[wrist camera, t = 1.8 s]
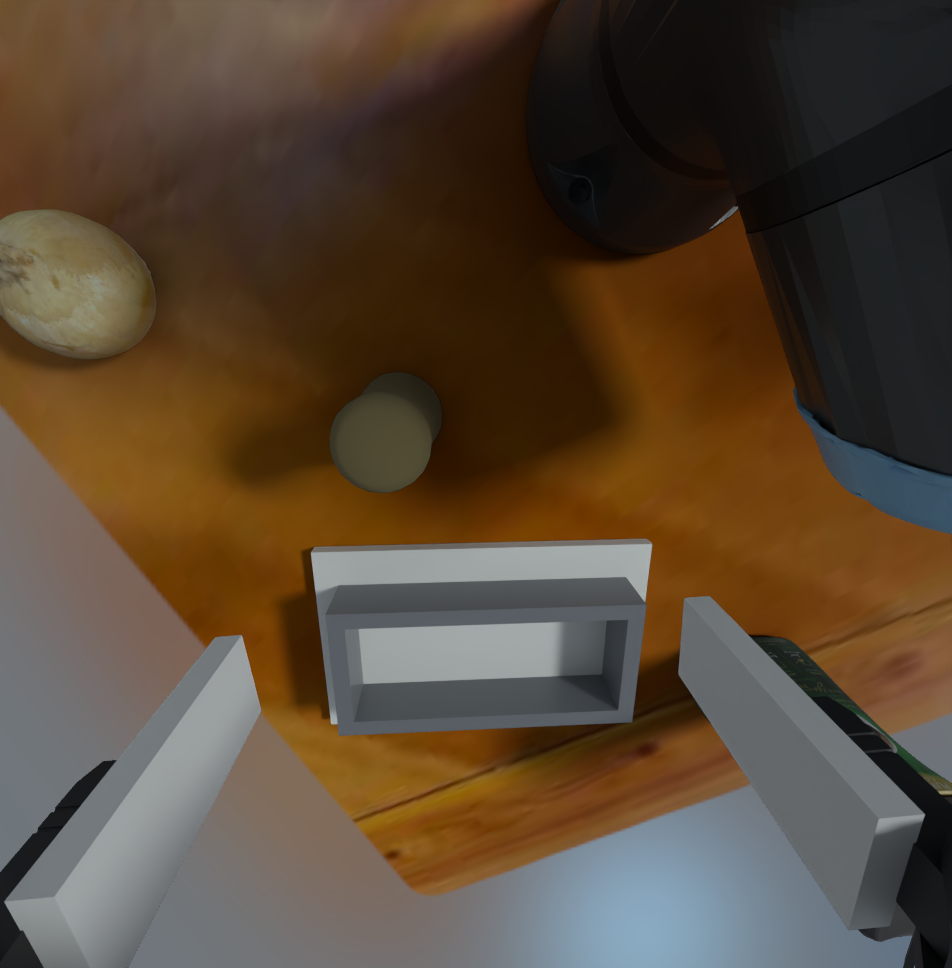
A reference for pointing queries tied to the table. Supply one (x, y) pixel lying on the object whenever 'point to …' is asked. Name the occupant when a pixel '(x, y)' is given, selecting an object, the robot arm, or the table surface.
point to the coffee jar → (823, 685)
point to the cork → (386, 433)
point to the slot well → (481, 633)
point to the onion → (73, 285)
